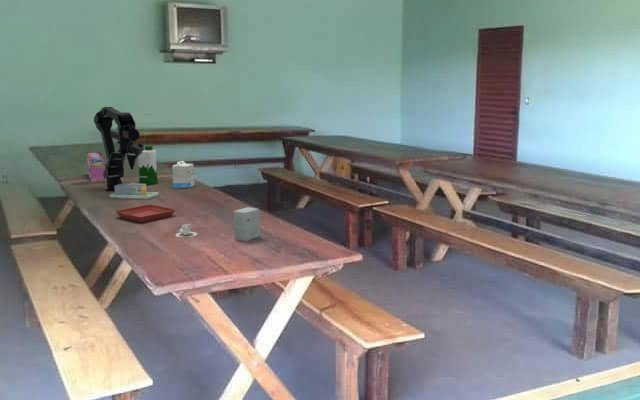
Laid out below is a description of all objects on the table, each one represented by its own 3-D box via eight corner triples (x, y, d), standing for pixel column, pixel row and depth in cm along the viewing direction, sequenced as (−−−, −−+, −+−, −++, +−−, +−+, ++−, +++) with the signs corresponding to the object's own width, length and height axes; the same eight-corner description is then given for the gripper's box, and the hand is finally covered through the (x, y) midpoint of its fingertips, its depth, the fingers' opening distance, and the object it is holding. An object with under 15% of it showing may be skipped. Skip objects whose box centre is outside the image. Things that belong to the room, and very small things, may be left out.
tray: (109, 197, 305) (108, 194, 305) (120, 193, 315) (119, 190, 314) (149, 199, 300) (148, 196, 300) (159, 195, 310) (158, 192, 310)
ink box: (188, 188, 327) (186, 162, 325) (173, 188, 329) (171, 162, 326) (194, 185, 336) (193, 160, 333) (179, 185, 337) (178, 160, 335)
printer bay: (119, 192, 317) (119, 187, 317) (130, 189, 327) (130, 183, 326) (136, 193, 315) (135, 187, 315) (146, 189, 325) (146, 183, 324)
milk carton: (160, 182, 345) (158, 146, 341) (150, 185, 337) (147, 148, 332) (146, 181, 348) (144, 145, 344) (136, 184, 340) (133, 147, 336)
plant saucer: (150, 211, 278) (150, 203, 277) (177, 216, 267) (176, 208, 266) (114, 218, 264) (114, 211, 263) (140, 225, 253) (140, 217, 252)
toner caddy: (115, 196, 307) (114, 185, 306) (120, 194, 312) (119, 184, 311) (143, 197, 304) (143, 186, 303) (149, 195, 308) (148, 185, 307)
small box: (248, 234, 235) (247, 206, 233) (260, 236, 232) (259, 208, 230) (233, 239, 229) (232, 210, 227) (245, 241, 226) (244, 212, 224)
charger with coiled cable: (180, 232, 241) (179, 221, 240) (200, 232, 240) (200, 222, 240) (172, 238, 233) (171, 227, 232) (193, 238, 232) (193, 227, 231)
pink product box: (87, 175, 373) (85, 152, 370) (101, 174, 376) (100, 151, 373) (90, 181, 351) (88, 157, 348) (105, 180, 354) (103, 156, 351)
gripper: (129, 141, 297) (131, 174, 300) (149, 137, 315) (151, 168, 318) (108, 141, 300) (110, 173, 303) (129, 136, 317) (131, 167, 321)
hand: (127, 170), depth 311 cm, fingers open, 9 cm apart
